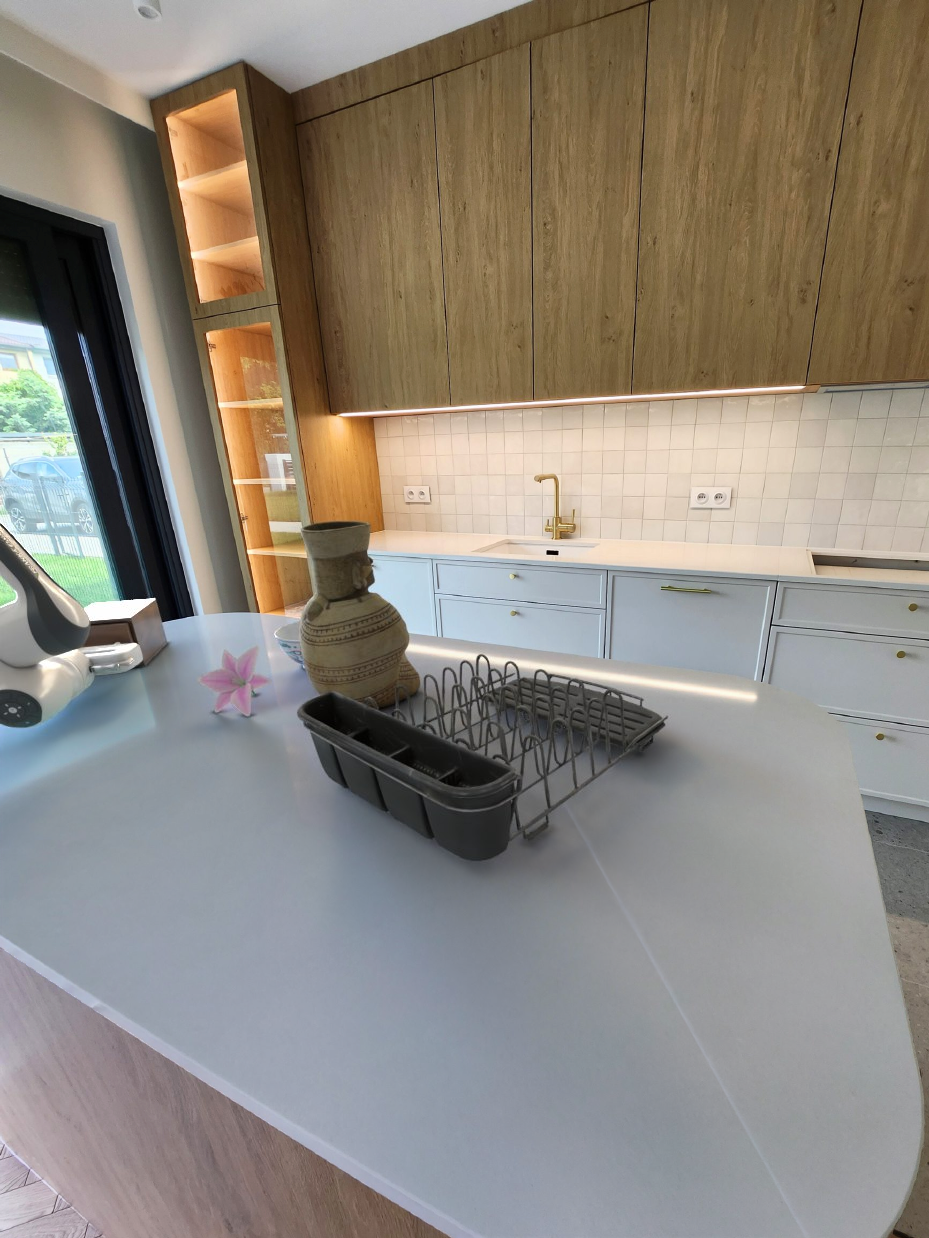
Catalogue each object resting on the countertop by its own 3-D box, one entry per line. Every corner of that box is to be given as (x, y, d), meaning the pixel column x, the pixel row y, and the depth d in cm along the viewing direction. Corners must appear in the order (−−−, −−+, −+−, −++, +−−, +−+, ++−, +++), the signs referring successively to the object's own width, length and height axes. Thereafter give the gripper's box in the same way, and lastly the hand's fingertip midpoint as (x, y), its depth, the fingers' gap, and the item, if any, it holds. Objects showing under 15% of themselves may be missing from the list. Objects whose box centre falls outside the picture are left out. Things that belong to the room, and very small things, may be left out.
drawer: (129, 673, 115) (116, 631, 111) (63, 680, 113) (48, 636, 109) (160, 643, 132) (149, 605, 129) (104, 648, 130) (91, 610, 127)
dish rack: (298, 783, 78) (281, 701, 73) (519, 683, 107) (518, 620, 103) (476, 907, 56) (469, 801, 52) (691, 739, 86) (699, 662, 81)
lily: (202, 707, 104) (177, 673, 96) (255, 665, 110) (235, 630, 102) (245, 740, 100) (223, 708, 92) (298, 695, 105) (281, 661, 98)
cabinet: (145, 666, 121) (130, 617, 117) (76, 673, 119) (59, 622, 115) (167, 643, 135) (155, 598, 131) (107, 648, 133) (92, 603, 129)
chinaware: (266, 669, 118) (258, 632, 115) (326, 648, 129) (321, 614, 126) (313, 684, 110) (306, 645, 107) (373, 660, 121) (368, 624, 118)
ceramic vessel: (407, 668, 116) (391, 511, 104) (432, 709, 98) (416, 525, 86) (307, 683, 110) (278, 519, 98) (314, 730, 92) (279, 536, 80)
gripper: (122, 649, 103) (148, 627, 115) (-12, 662, 98) (30, 637, 111) (132, 683, 105) (157, 657, 118) (1, 696, 101) (41, 668, 113)
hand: (94, 647), depth 114 cm, fingers closed on drawer, 6 cm apart
